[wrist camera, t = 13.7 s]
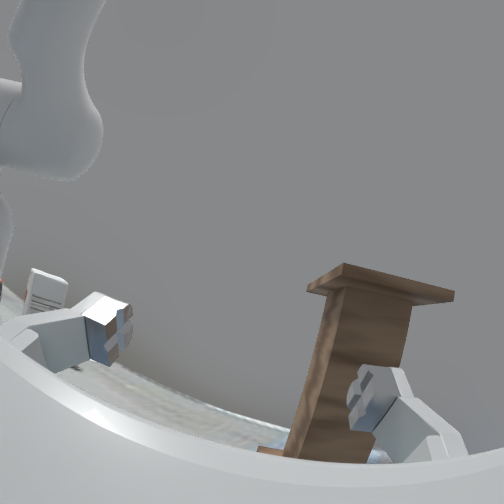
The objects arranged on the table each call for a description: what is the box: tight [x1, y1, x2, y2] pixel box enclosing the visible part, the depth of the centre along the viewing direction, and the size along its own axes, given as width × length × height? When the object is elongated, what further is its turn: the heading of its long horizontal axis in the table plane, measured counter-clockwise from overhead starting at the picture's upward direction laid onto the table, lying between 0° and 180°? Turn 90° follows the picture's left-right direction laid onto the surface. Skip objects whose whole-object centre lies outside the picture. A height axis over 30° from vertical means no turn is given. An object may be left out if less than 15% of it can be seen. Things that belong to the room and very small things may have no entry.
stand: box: [257, 263, 455, 464], centre depth 29 cm, size 18×14×26 cm
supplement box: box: [22, 268, 69, 315], centre depth 52 cm, size 9×9×15 cm
